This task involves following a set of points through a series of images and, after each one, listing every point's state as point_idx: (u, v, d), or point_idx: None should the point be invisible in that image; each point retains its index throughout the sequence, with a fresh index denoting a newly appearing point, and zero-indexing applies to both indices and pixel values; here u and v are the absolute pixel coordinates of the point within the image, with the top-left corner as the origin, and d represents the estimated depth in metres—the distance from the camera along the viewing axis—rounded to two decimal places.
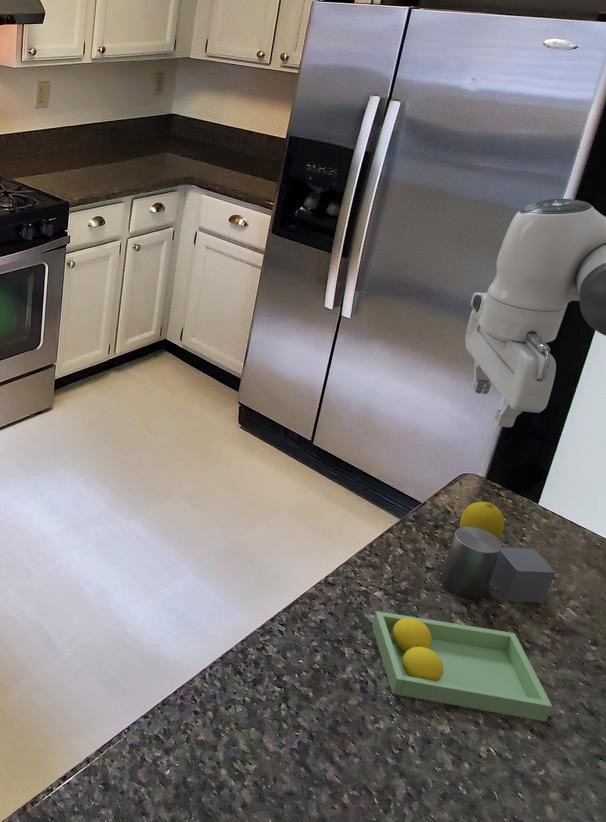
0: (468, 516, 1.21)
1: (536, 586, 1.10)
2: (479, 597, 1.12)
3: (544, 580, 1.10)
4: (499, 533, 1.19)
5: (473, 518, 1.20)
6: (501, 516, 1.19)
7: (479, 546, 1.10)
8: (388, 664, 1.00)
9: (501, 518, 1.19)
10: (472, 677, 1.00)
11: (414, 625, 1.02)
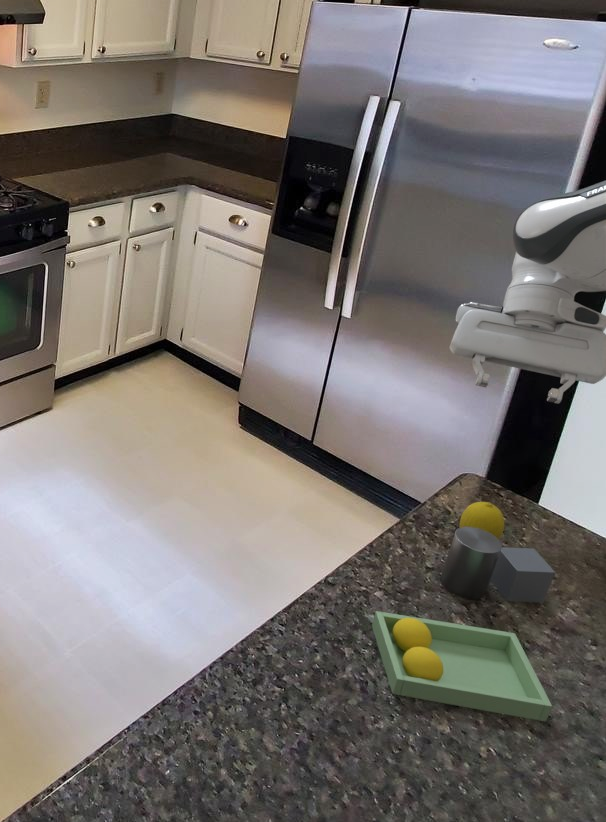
0: (468, 516, 1.21)
1: (536, 586, 1.10)
2: (479, 597, 1.12)
3: (544, 580, 1.10)
4: (499, 533, 1.19)
5: (473, 518, 1.20)
6: (501, 516, 1.19)
7: (479, 546, 1.10)
8: (388, 664, 1.00)
9: (501, 518, 1.19)
10: (472, 677, 1.00)
11: (414, 625, 1.02)
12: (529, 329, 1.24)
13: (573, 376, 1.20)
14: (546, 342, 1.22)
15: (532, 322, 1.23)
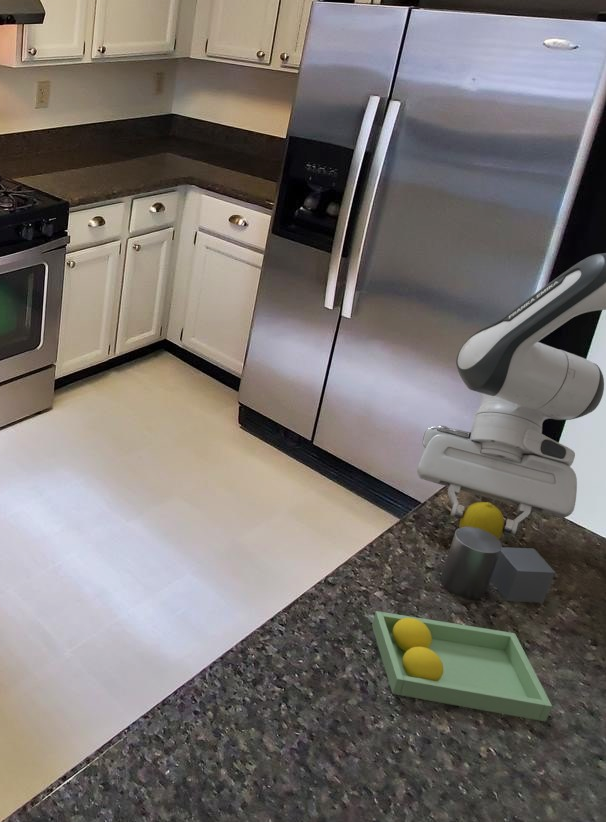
0: (468, 516, 1.21)
1: (536, 586, 1.10)
2: (479, 597, 1.12)
3: (544, 580, 1.10)
4: (499, 533, 1.19)
5: (473, 518, 1.20)
6: (501, 516, 1.19)
7: (479, 546, 1.10)
8: (388, 664, 1.00)
9: (501, 518, 1.19)
10: (472, 677, 1.00)
11: (414, 625, 1.02)
12: (495, 459, 1.22)
13: (528, 508, 1.19)
14: (512, 473, 1.21)
15: (498, 452, 1.21)
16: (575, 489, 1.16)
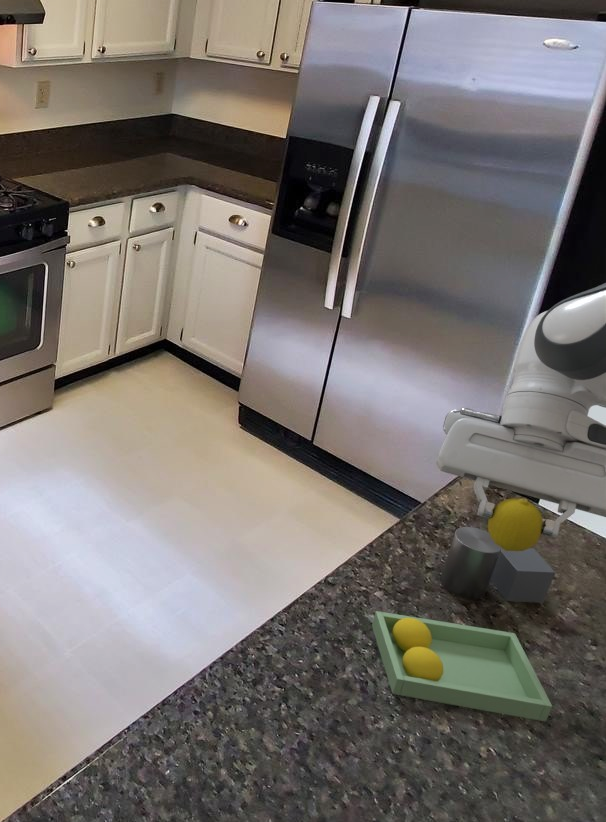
0: (498, 515, 1.01)
1: (536, 586, 1.10)
2: (479, 597, 1.12)
3: (544, 580, 1.10)
4: (537, 536, 0.99)
5: (504, 518, 1.00)
6: (539, 515, 0.99)
7: (479, 546, 1.10)
8: (388, 664, 1.00)
9: (539, 518, 0.99)
10: (472, 677, 1.00)
11: (414, 625, 1.02)
12: (532, 447, 1.02)
13: (572, 505, 0.98)
14: (553, 464, 1.00)
15: (535, 439, 1.01)
16: None
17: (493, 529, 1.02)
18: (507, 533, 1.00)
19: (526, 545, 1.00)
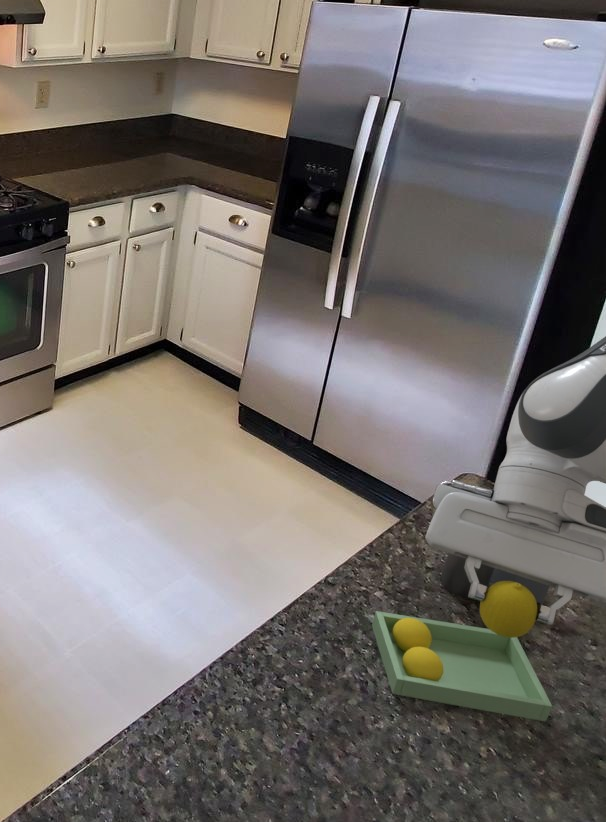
0: (491, 599, 0.95)
1: (536, 586, 1.10)
2: None
3: None
4: (531, 623, 0.93)
5: (497, 603, 0.94)
6: (534, 601, 0.93)
7: None
8: (388, 664, 1.00)
9: (534, 604, 0.93)
10: (472, 677, 1.00)
11: (414, 625, 1.02)
12: (526, 526, 0.96)
13: (569, 591, 0.93)
14: (548, 546, 0.95)
15: (530, 519, 0.95)
16: None
17: (485, 614, 0.96)
18: (499, 620, 0.94)
19: (520, 632, 0.94)
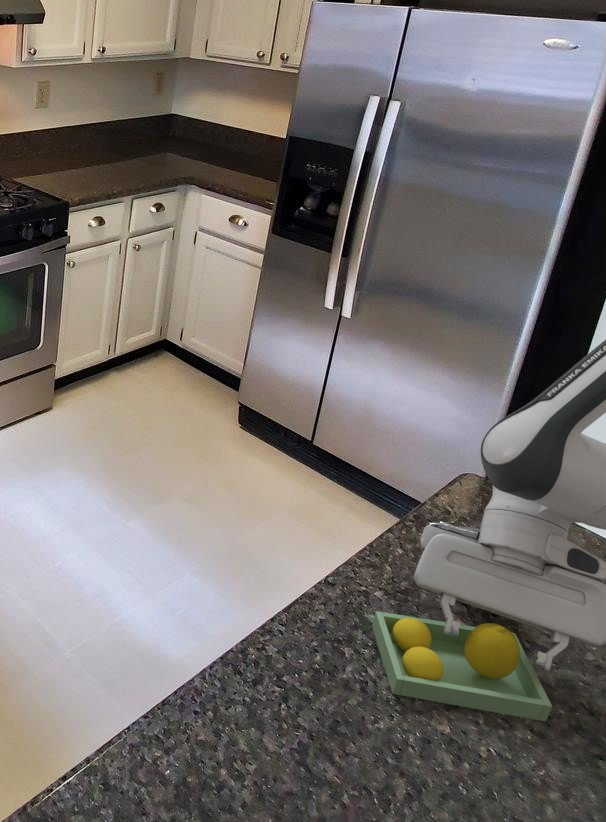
0: (475, 642, 0.98)
1: None
2: None
3: None
4: (514, 665, 0.96)
5: (481, 646, 0.97)
6: (516, 644, 0.96)
7: None
8: (388, 664, 1.00)
9: (516, 647, 0.96)
10: (472, 677, 1.00)
11: (414, 625, 1.02)
12: (511, 568, 0.99)
13: (565, 638, 0.95)
14: (532, 589, 0.97)
15: (514, 562, 0.98)
16: None
17: (469, 656, 0.99)
18: (483, 662, 0.97)
19: (503, 674, 0.97)
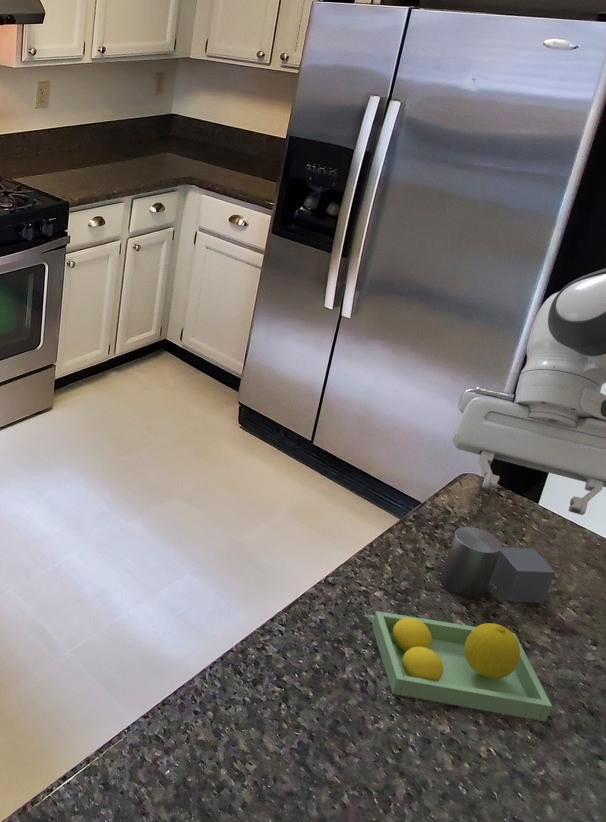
0: (475, 642, 0.98)
1: (536, 586, 1.10)
2: (479, 597, 1.12)
3: (544, 580, 1.10)
4: (514, 665, 0.96)
5: (481, 646, 0.97)
6: (516, 644, 0.96)
7: (479, 546, 1.10)
8: (388, 664, 1.00)
9: (516, 647, 0.96)
10: (472, 677, 1.00)
11: (414, 625, 1.02)
12: (546, 423, 1.05)
13: (600, 483, 1.00)
14: (567, 440, 1.03)
15: (549, 416, 1.04)
16: None
17: (469, 656, 0.99)
18: (483, 662, 0.97)
19: (503, 674, 0.97)
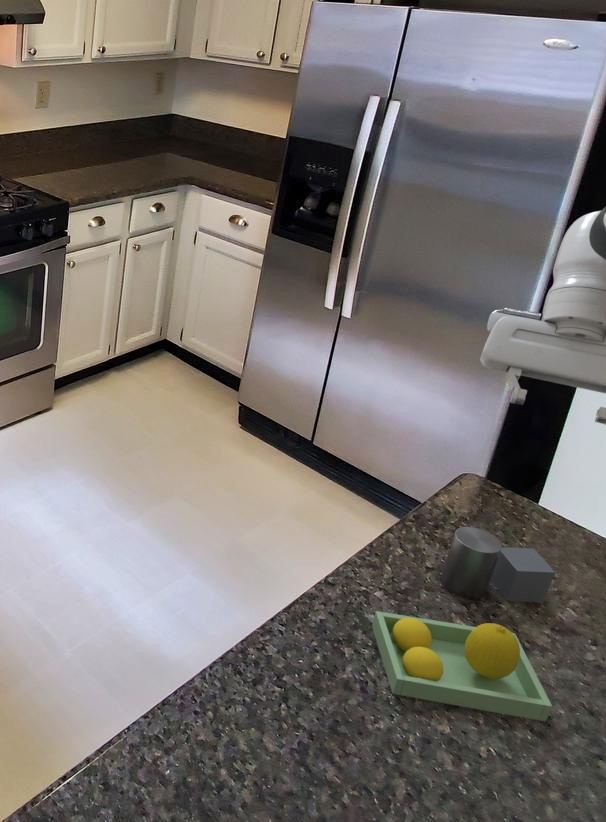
0: (475, 642, 0.98)
1: (536, 586, 1.10)
2: (479, 597, 1.12)
3: (544, 580, 1.10)
4: (514, 665, 0.96)
5: (481, 646, 0.97)
6: (516, 644, 0.96)
7: (479, 546, 1.10)
8: (388, 664, 1.00)
9: (516, 647, 0.96)
10: (472, 677, 1.00)
11: (414, 625, 1.02)
12: (573, 339, 1.08)
13: None
14: (593, 354, 1.06)
15: (577, 330, 1.07)
16: None
17: (469, 656, 0.99)
18: (483, 662, 0.97)
19: (503, 674, 0.97)
